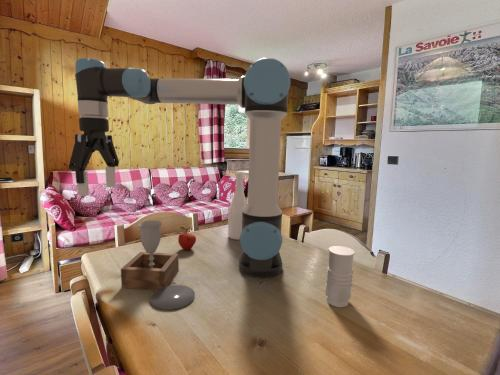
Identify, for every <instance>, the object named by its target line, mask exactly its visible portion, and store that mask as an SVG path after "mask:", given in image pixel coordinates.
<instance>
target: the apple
mask: <svg viewBox="0 0 500 375" xmlns="http://www.w3.org/2000/svg"><path fill="white" fill-rule="evenodd" d="M177 229H182V230H185V232H181V233H180V234H179V235H178V238H177V241H178V242H177V243H178V244H179V246H180V247H181V249H183V251H191V250H192V248H193V247H194V245H195V244H196V242H197V237H196V235H195V234H193V233H189V232H188V229H187V228H185V227H184V226H178V227H177V228H176V230H177Z"/></svg>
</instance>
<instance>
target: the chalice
mask: <svg viewBox="0 0 500 375" xmlns="http://www.w3.org/2000/svg"><path fill="white" fill-rule="evenodd" d="M162 224H163V222H162V221H161V220H146V221H141V222H139V223H138V227H139V234H140V236H139V238H140V239H139V240H140V242H141V244H142V245H141V246H142V247H143V249H144V250H145V252H147V253H149V254H150V258H149V260H150V264H149V266H150V268H153V266H154V263H153V259H154V258H153V253H157V252H156V251H157V249H158V247H159V245H160V243H161V242H160V241H161V238H162V233H161V231H162V230H161V227H162Z"/></svg>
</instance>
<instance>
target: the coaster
mask: <svg viewBox="0 0 500 375" xmlns="http://www.w3.org/2000/svg"><path fill="white" fill-rule="evenodd" d="M195 297H196V294H195V290H194V289H193V288H191V287H190V286H187V285H182V284H174V285H173V284H172V285H169V286H167V287H166V288H165V289H161V288H160V289H158V290H154V292H152V294H151V295H150V298H149V303H150V305H151V306H152V307H154V308H156V309H158V310H161V311H177V310H179V309H183V308H185V307H187V306H189V305H190V304H192V302H193V301H194V300H195Z"/></svg>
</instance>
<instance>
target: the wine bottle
mask: <svg viewBox="0 0 500 375" xmlns="http://www.w3.org/2000/svg"><path fill="white" fill-rule="evenodd" d="M244 177H245V172H244V171H236V172H235V191H234V195H233V197H232V200H231V202H230V205H229V206H230V207H229V210H228V215H227V218H228V221H227V223H228V224H227V226H228V227H227V228H228V229H227V236H228V238H230V239H232V240H235V241H238V240H239V241H240V235H241V232H242V209H243V208H244V207H245V206H246V205H247V204H248V201H247V200H246V196H245V192H244Z"/></svg>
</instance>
